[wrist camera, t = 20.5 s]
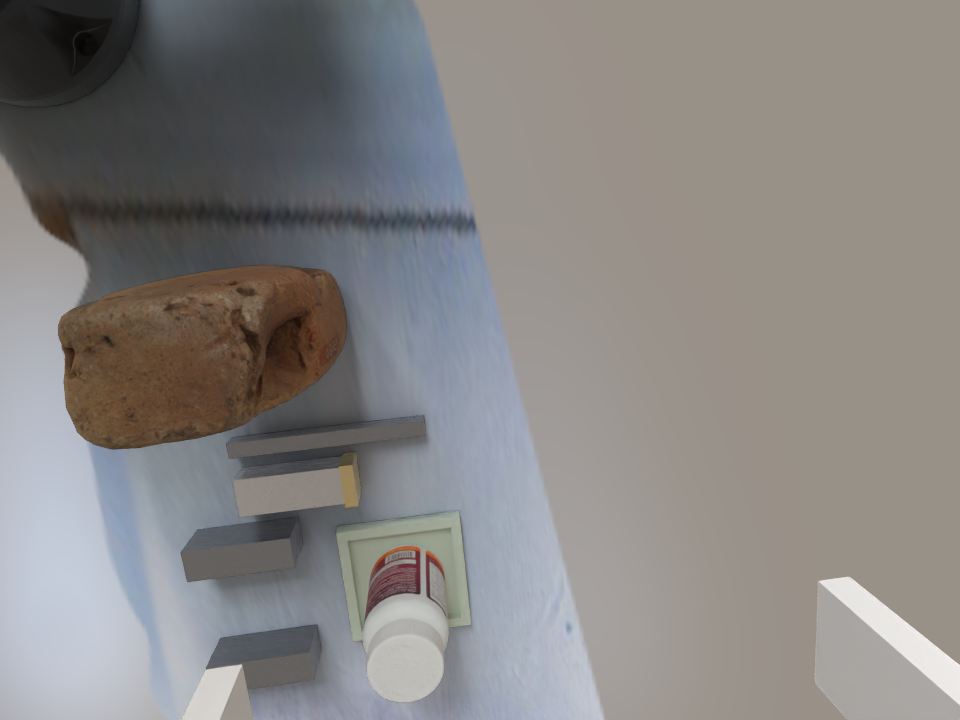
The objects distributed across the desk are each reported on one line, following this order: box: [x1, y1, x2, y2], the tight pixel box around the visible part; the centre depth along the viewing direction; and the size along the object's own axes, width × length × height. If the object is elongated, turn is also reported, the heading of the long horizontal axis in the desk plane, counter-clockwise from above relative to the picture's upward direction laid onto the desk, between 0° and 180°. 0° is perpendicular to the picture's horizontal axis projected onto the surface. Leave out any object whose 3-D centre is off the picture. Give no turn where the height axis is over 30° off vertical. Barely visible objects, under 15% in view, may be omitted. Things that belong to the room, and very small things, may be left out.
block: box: [58, 265, 346, 450], centre depth 36 cm, size 11×8×20 cm
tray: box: [336, 511, 471, 642], centre depth 50 cm, size 10×10×1 cm
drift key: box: [232, 452, 362, 517], centre depth 47 cm, size 3×9×3 cm, turn 95°
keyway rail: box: [226, 415, 425, 459], centre depth 47 cm, size 1×15×2 cm, turn 95°
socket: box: [181, 517, 321, 690], centre depth 48 cm, size 12×8×4 cm, turn 5°
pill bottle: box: [363, 544, 449, 703], centre depth 45 cm, size 6×6×11 cm
